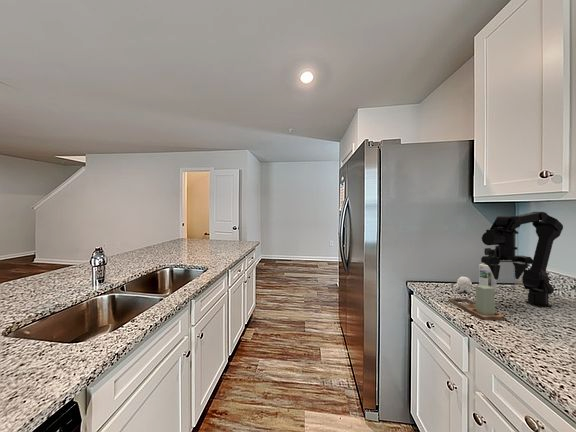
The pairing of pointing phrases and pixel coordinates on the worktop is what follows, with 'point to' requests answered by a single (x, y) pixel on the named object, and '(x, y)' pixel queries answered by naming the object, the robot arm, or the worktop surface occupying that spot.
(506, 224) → the robot arm
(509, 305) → the worktop surface
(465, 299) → the copper brown frame
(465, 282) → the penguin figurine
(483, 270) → the syrup box
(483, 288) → the sage peg
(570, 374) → the worktop surface
